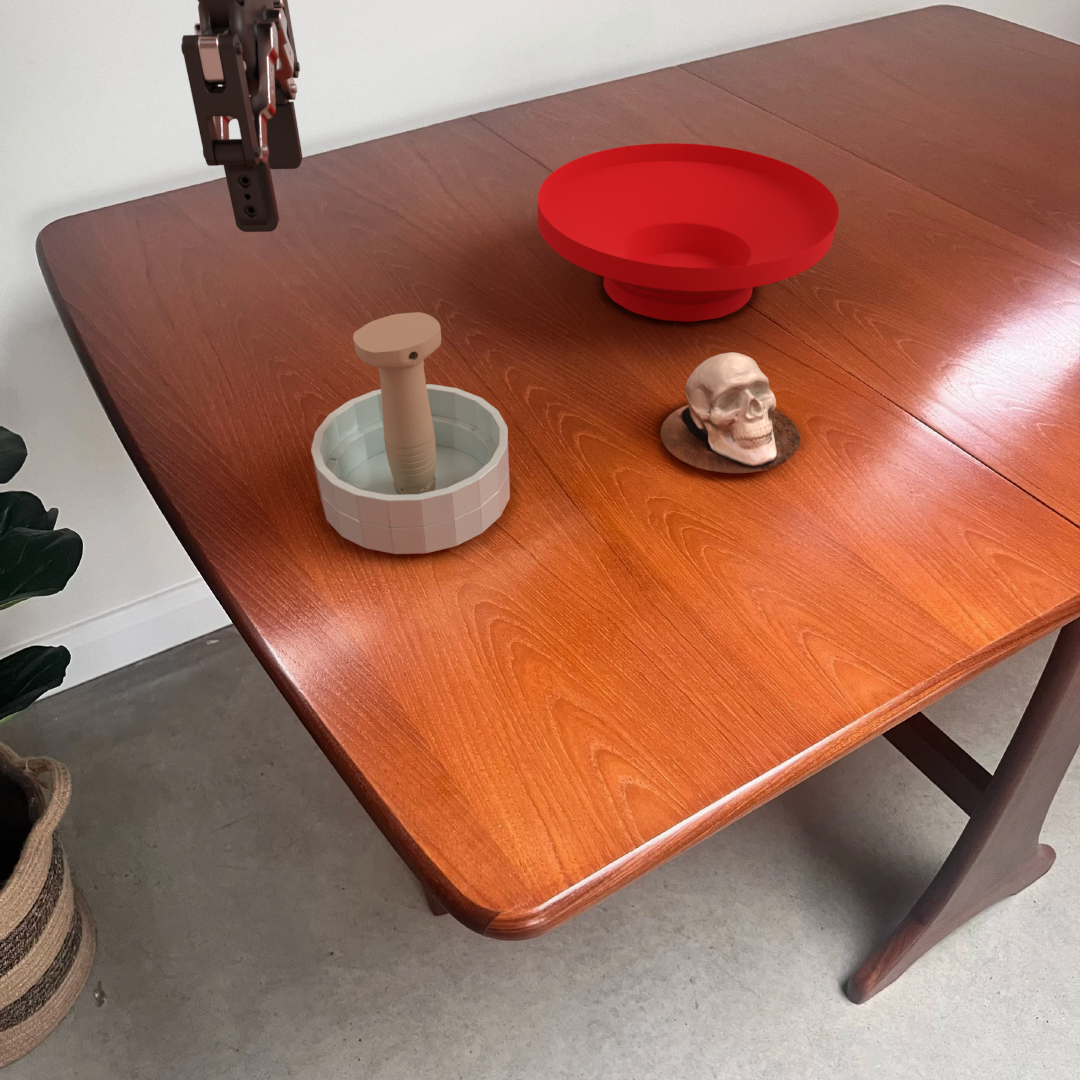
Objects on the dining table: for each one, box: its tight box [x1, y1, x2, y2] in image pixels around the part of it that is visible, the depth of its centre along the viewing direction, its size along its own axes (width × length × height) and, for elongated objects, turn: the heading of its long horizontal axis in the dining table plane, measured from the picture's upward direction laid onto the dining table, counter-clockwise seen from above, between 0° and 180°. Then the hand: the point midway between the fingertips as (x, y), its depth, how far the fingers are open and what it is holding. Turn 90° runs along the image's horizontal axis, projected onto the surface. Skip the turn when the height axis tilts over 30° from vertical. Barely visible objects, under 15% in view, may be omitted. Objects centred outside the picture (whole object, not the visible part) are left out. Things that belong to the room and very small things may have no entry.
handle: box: [352, 311, 442, 495], centre depth 81 cm, size 5×6×15 cm
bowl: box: [537, 142, 840, 323], centre depth 109 cm, size 30×30×10 cm
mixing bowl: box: [310, 383, 511, 555], centre depth 84 cm, size 15×15×6 cm
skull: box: [660, 351, 801, 474], centre depth 90 cm, size 12×10×10 cm
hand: (272, 196), depth 60 cm, fingers open, 8 cm apart
